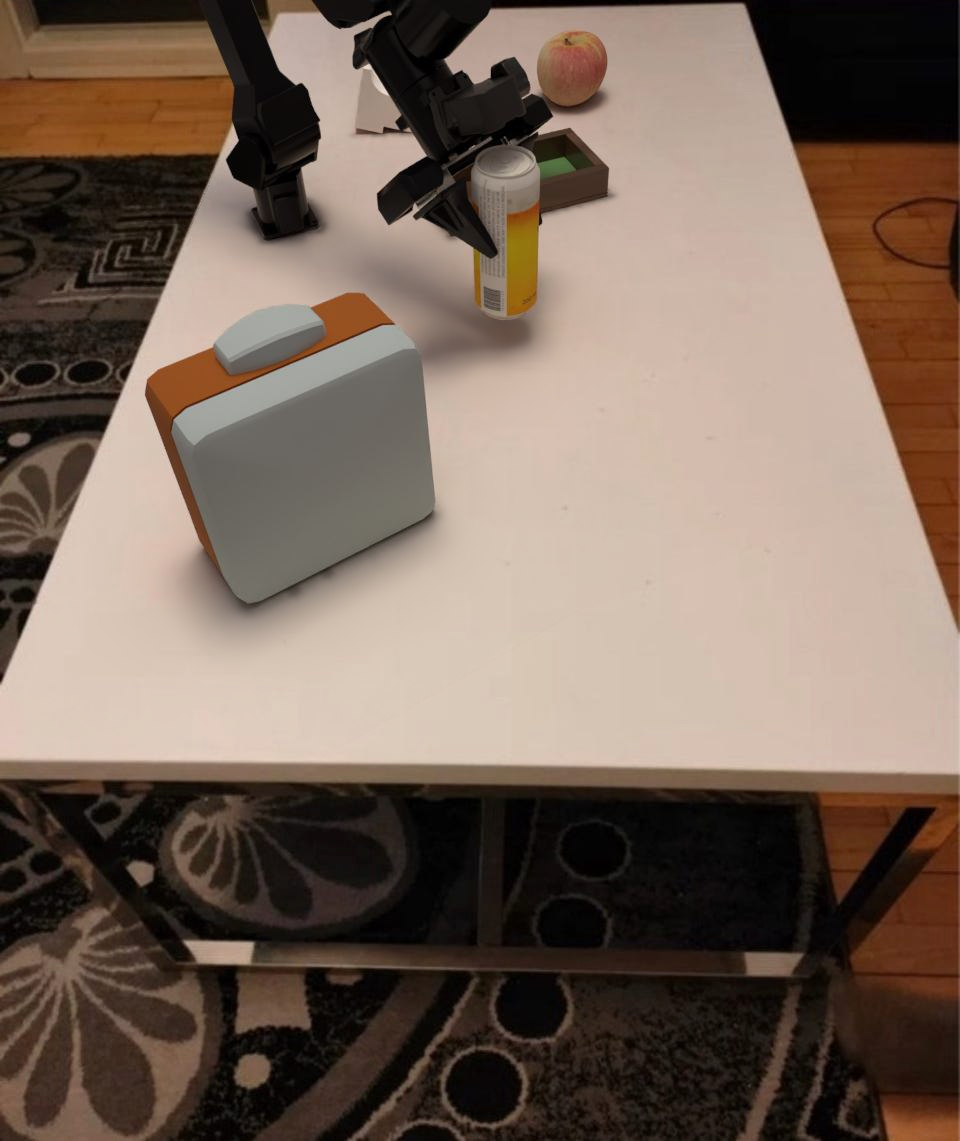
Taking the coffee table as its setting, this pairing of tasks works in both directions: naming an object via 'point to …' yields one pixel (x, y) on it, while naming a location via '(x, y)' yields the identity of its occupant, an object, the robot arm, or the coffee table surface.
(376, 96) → the bracket
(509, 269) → the beer can
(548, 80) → the apple
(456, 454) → the coffee table surface
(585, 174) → the tray
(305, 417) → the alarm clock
